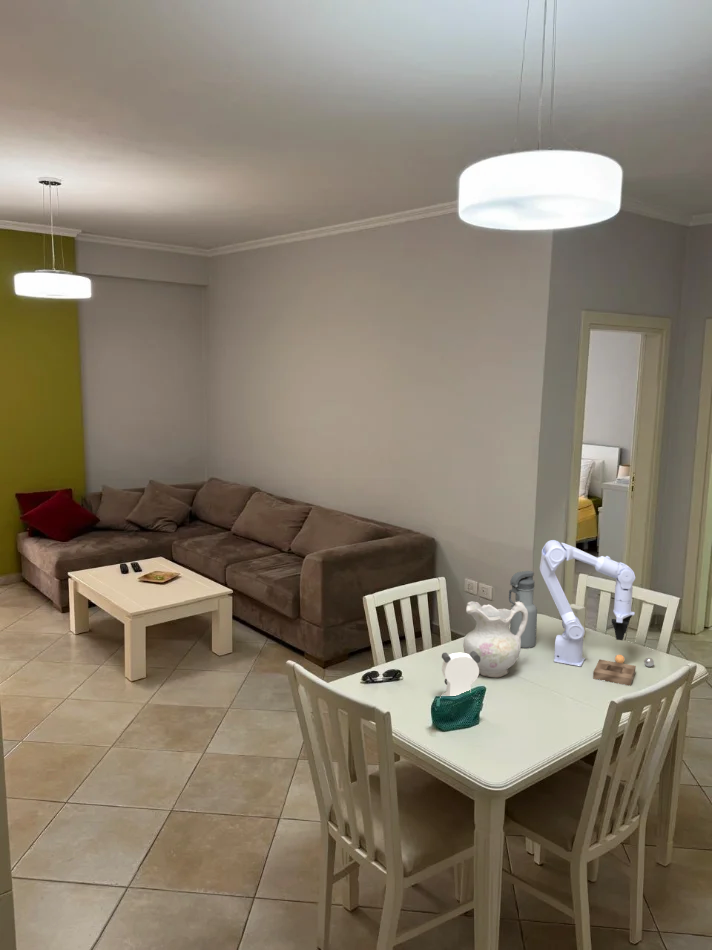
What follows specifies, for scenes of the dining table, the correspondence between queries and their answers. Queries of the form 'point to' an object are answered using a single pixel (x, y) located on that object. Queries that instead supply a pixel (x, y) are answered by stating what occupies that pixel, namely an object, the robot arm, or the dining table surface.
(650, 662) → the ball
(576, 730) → the dining table surface
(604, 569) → the robot arm
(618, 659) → the ball
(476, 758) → the dining table surface
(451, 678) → the panda figurine
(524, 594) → the water bottle
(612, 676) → the hole plate
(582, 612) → the skincare box
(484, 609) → the ceramic pitcher
